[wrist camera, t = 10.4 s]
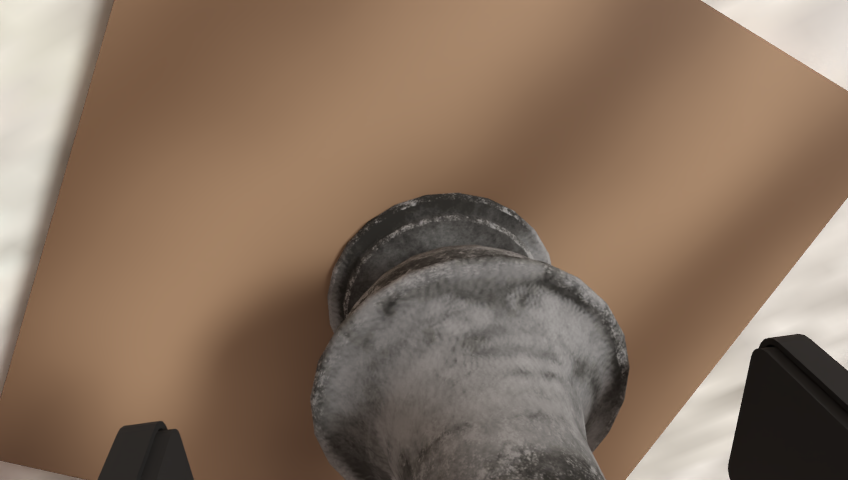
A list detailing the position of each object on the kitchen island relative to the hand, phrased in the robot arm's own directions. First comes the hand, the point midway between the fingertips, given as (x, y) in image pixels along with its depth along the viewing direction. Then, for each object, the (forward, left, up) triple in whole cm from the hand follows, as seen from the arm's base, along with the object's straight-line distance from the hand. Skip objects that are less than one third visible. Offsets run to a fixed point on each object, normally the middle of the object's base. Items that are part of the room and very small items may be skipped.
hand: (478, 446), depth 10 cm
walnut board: (0, 0, -6) cm, 6 cm away
